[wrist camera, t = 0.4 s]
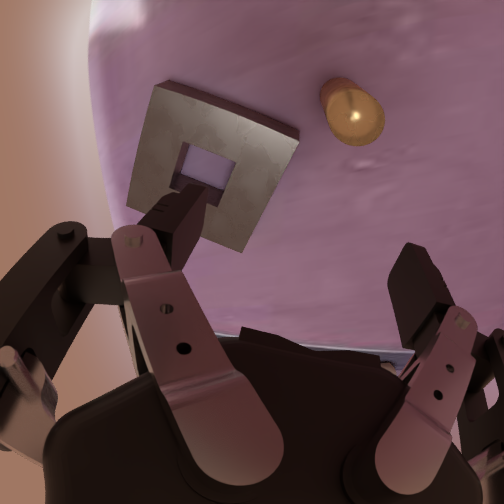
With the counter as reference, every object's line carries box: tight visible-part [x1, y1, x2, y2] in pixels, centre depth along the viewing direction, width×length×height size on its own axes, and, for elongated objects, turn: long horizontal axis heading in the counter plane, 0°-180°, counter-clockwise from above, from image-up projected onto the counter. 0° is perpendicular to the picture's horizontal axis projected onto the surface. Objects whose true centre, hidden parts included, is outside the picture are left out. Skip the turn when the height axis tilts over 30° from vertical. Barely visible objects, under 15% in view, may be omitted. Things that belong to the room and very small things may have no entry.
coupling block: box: [126, 80, 299, 253], centre depth 31 cm, size 14×14×4 cm
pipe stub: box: [320, 77, 385, 146], centre depth 23 cm, size 4×4×9 cm
